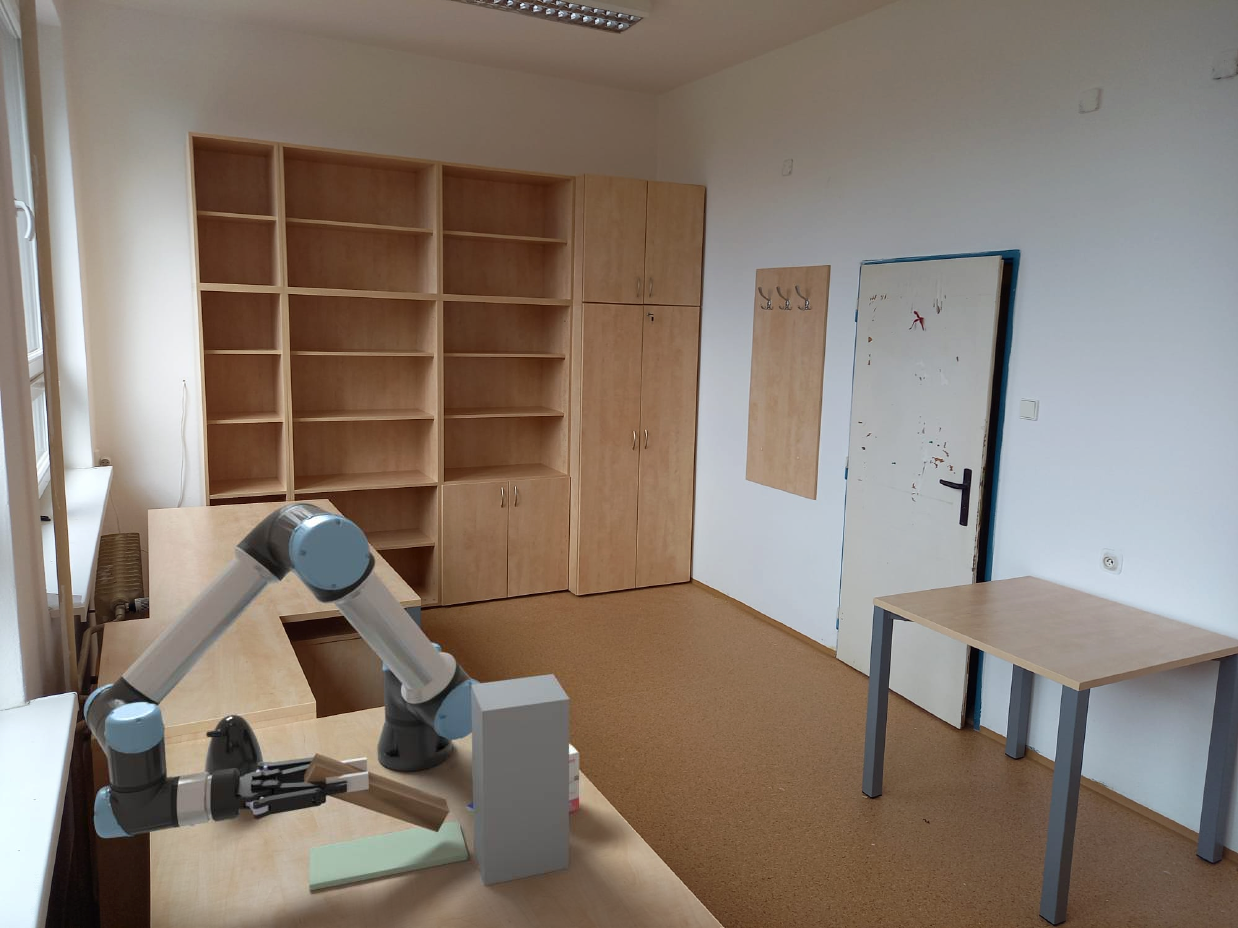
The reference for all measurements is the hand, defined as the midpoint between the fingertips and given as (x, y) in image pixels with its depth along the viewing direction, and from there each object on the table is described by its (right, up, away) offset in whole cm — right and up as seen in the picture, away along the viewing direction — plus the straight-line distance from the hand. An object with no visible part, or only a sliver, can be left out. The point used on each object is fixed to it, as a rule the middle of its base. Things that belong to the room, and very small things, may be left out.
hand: (367, 772), depth 140 cm
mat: (+3, -15, +3) cm, 16 cm away
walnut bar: (0, -6, +1) cm, 6 cm away
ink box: (+29, -13, +17) cm, 37 cm away
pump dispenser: (-32, -12, +22) cm, 40 cm away
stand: (+25, -16, +3) cm, 30 cm away
